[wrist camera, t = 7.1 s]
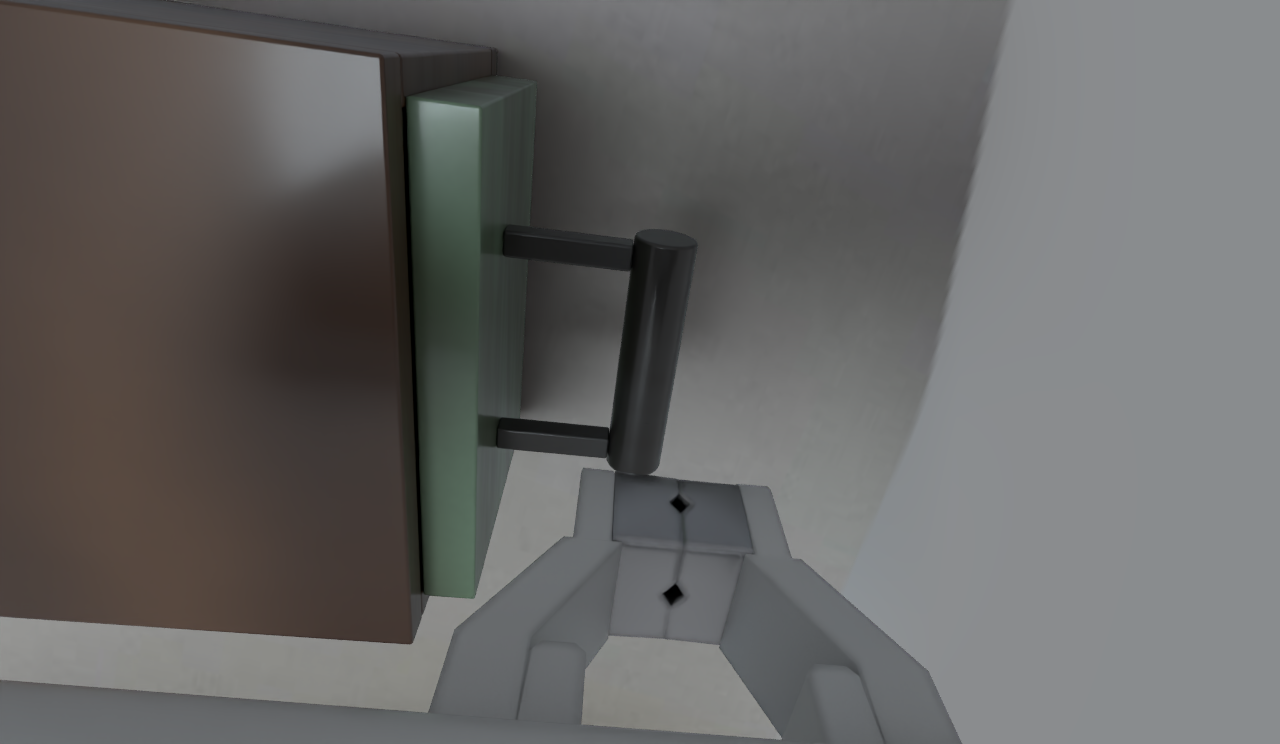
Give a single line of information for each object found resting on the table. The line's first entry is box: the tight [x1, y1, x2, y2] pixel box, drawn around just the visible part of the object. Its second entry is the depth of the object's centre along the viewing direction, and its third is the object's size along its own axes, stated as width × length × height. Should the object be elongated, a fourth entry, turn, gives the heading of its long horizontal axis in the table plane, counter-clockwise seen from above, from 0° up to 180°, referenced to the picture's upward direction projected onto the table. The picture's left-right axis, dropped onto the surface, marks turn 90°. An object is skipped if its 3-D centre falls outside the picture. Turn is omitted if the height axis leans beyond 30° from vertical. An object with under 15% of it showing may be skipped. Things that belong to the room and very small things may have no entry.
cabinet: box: [0, 0, 497, 644], centre depth 15 cm, size 15×12×9 cm
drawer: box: [402, 75, 698, 599], centre depth 15 cm, size 18×11×7 cm, turn 83°
